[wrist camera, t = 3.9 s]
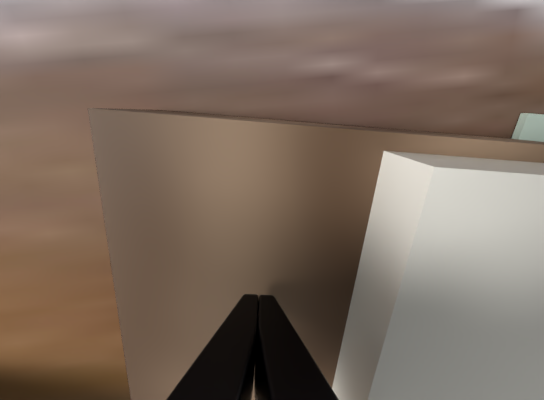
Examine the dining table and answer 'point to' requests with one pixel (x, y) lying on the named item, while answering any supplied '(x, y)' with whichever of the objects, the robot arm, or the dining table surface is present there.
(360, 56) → the dining table surface
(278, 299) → the brown flat wooden block
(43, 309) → the dining table surface
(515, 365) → the white rectangular block
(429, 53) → the dining table surface
